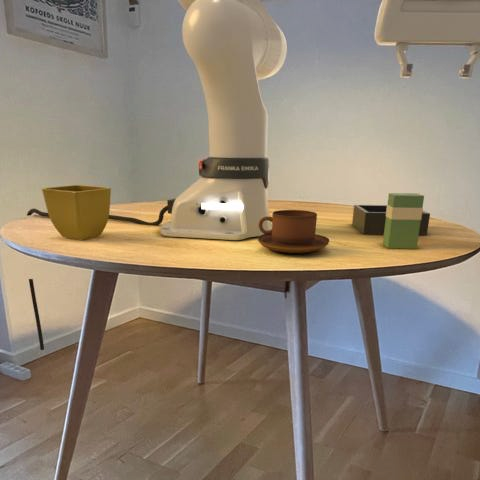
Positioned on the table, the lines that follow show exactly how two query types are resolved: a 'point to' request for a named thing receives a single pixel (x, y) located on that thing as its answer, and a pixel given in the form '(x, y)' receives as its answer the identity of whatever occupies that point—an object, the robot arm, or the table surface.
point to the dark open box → (379, 219)
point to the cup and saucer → (292, 232)
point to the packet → (403, 220)
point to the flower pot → (78, 209)
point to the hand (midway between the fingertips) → (434, 77)
